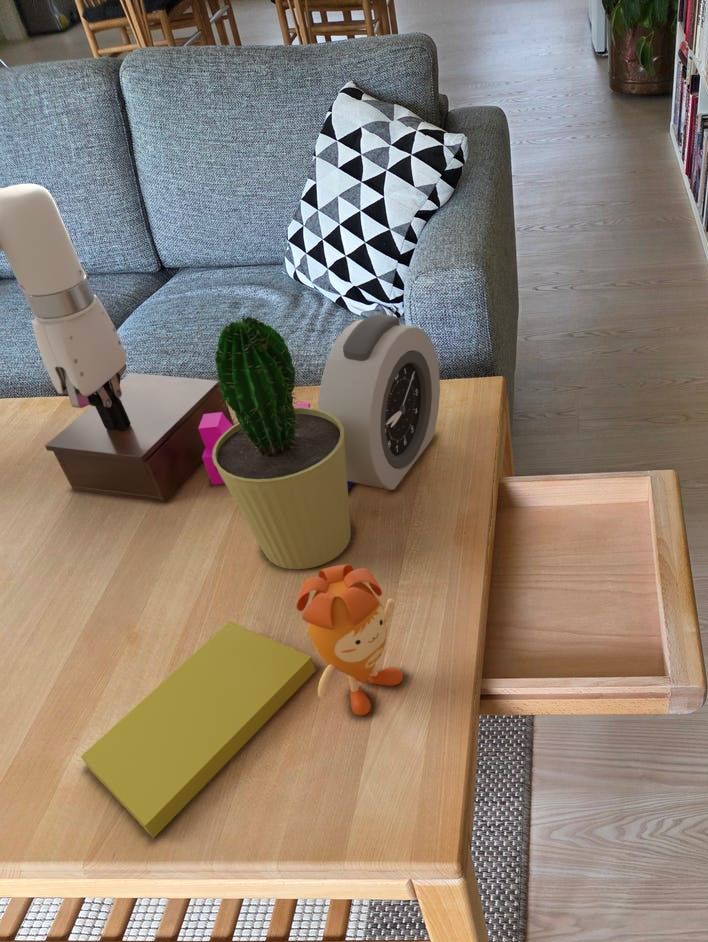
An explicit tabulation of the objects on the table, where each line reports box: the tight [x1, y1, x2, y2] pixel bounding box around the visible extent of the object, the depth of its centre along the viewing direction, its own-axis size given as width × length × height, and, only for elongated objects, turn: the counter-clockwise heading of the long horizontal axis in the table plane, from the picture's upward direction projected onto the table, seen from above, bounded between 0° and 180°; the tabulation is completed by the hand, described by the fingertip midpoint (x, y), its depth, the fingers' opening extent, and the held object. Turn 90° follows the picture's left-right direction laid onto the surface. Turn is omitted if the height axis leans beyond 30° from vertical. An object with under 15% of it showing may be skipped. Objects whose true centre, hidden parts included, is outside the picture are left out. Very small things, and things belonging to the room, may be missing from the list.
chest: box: [52, 387, 235, 503], centre depth 126 cm, size 20×16×7 cm
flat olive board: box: [80, 620, 317, 839], centre depth 90 cm, size 12×2×24 cm
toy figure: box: [295, 564, 404, 717], centre depth 87 cm, size 12×8×15 cm, turn 141°
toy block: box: [198, 401, 312, 485], centre depth 121 cm, size 15×6×8 cm, turn 91°
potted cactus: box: [206, 308, 352, 570], centre depth 100 cm, size 15×15×30 cm
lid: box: [44, 372, 220, 462], centre depth 123 cm, size 20×16×1 cm
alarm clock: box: [317, 313, 441, 491], centre depth 115 cm, size 21×8×20 cm, turn 158°
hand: (118, 426), depth 120 cm, fingers closed
